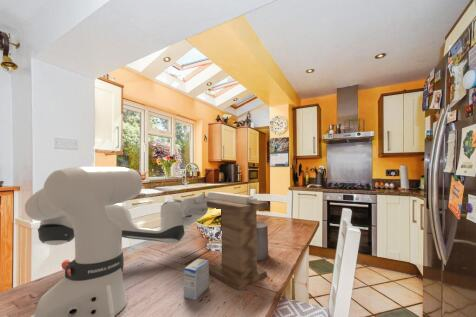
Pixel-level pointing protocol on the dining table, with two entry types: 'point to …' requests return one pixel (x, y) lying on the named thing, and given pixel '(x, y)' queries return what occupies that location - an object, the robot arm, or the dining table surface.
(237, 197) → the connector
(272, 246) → the dining table surface
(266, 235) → the pillar candle
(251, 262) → the stand
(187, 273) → the medicine box
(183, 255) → the dining table surface
